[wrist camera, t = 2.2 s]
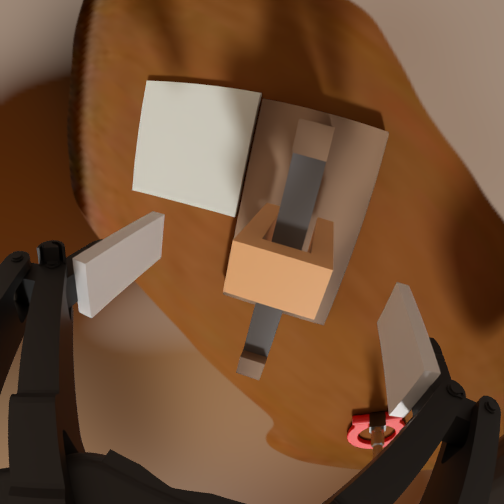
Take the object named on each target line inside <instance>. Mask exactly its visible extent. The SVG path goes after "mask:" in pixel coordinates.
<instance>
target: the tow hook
mask: <svg viewBox="0 0 504 504" xmlns="http://www.w3.org/2000/svg"><path fill="white" fill-rule="evenodd" d="M386 426H390V427H392V428H394V429H395V432H394V433H393V434H392V435H391V436H389V437H387V438H385V439H384V431H386ZM404 426H405V423H404V421H402V417H396V416H389V412H385V411H384V412H376V413H370V414H364V415H354V416H353V417H352V426H351V427H350V429H349V430H348V433H347V439H348V441H349V442H350V444H352V445H354V446H356V447H359V448H366V449H373V459H374V458H375V457H376V456H377V455H378V454H379V453H380V452H381V451H382V447H385V446H387V445H388V444H389V442H390V441H391V440H392V439H393V438H394V437H395V436H396V435H397V434H398V433H399V432H400V430H401V429H402V428H403V427H404ZM368 427H369V433H371V441H369V440H364V439H361V438H360V437H359V436H358V434H359V433H360V432H361V431H363V430H364V429H367V428H368Z"/></svg>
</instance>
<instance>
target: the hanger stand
mask: <svg viewBox="0 0 504 504" xmlns="http://www.w3.org/2000/svg"><path fill="white" fill-rule="evenodd" d="M388 135H389V132H387V131H384V130H381V129H378V128H375V127H372V126H369V125H366V124H363V123H360V122H356V121H353V120H350V119H346V118H343V117H340V116H336V115H332V114H329V113H325V112H321V111H317V110H314V109H309V108H305V107H301V106H297V105H292V104H288V103H283V102H279V101H274V100H269V99H263V100H262V104H261V109H260V113H259V118H258V123H257V127H256V132H255V137H254V141H253V146H252V151H251V156H250V160H249V165H248V170H247V175H246V180H245V185H244V190H243V194H242V199H241V204H240V209H239V214H238V219H237V225H236V230H235V235H234V238H235V237H236V236H237V235H238V234H239V233H240V232H241V231H242V230H243V228H244V227H245V226H246V225H247V224H248V223H249V222H250V221H251V220H252V218H253V217H254V216H255V215H256V214H257V213H258V212H259V211H260V210H261V209H262V207H263V206H264V205H265V204H266V203H270V204H274V205H277V206H280V209H279V213H278V217H277V221H276V225H275V229H274V233H273V237H272V241H271V242H274V243H278V244H281V245H285V246H288V247H291V248H295V249H298V250H301V251H305V252H307V251H308V248H309V245H310V241H311V238H312V235H313V231H314V228H315V224H316V221H317V218H318V217H319V218H322V219H326V220H329V221H332V222H334V245H333V272H332V274H331V277H330V280H329V283H328V285H327V288H326V291H325V293H324V296H323V299H322V301H321V304H320V306H319V309H318V311H317V314H316V316H315V319H314V320H313V319H310V318H306V317H303V316H300V315H296V314H293V313H290V312H286V311H283V310H280V309H277V308H273V307H270V306H267V305H264V304H261V303H257V302H254V301H251V300H248V299H245V298H242V297H239V296H236V295H233V294H230V293H226V292H224V293H223V294H224V295H227V296H230V297H233V298H236V299H239V300H242V301H245V302H249V303H252V304H255V308H254V312H253V315H252V319H251V323H250V327H249V331H248V334H247V338H246V342H245V346H244V349H243V352H242V354H241V356H240V360H239V364H238V368H237V371H236V373H239V374H242V375H245V376H248V377H251V378H254V379H257V380H259V379H260V377H261V374H262V371H263V368H264V365H265V362H266V359H267V356H268V353H269V351H270V348H271V345H272V342H273V339H274V336H275V333H276V330H277V327H278V324H279V321H280V318H281V315H282V313H284V314H287V315H290V316H294V317H297V318H300V319H304V320H307V321H310V322H314V323H317V324H321V325H324V323H325V321H326V318H327V316H328V314H329V311H330V309H331V306H332V304H333V301H334V299H335V297H336V294H337V291H338V289H339V286H340V284H341V281H342V279H343V276H344V273H345V271H346V268H347V266H348V263H349V260H350V257H351V255H352V252H353V249H354V246H355V243H356V241H357V238H358V235H359V232H360V229H361V226H362V223H363V220H364V217H365V214H366V211H367V208H368V205H369V202H370V198H371V195H372V192H373V189H374V185H375V182H376V179H377V175H378V172H379V168H380V165H381V161H382V158H383V154H384V150H385V147H386V143H387V139H388Z"/></svg>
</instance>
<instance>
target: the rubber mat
mask: <svg viewBox="0 0 504 504" xmlns="http://www.w3.org/2000/svg"><path fill="white" fill-rule="evenodd" d="M261 97H262V93H259V92H253V91H247V90H241V89H234V88H227V87H220V86H212V85H203V84H192V83H181V82H166V81H147V83H146V88H145V94H144V100H143V106H142V112H141V118H140V125H139V132H138V140H137V148H136V157H135V166H134V177H133V189H132V190H135V191H139V192H142V193H146V194H150V195H154V196H158V197H162V198H166V199H170V200H173V201H177V202H181V203H185V204H189V205H192V206H196V207H200V208H203V209H207V210H211V211H214V212H218V213H222V214H225V215H229V216H233V217H235V216H237V212H238V207H239V202H240V197H241V192H242V187H243V182H244V177H245V172H246V167H247V162H248V157H249V153H250V148H251V143H252V138H253V134H254V129H255V124H256V120H257V115H258V110H259V106H260V101H261Z"/></svg>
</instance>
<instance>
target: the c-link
mask: <svg viewBox="0 0 504 504" xmlns="http://www.w3.org/2000/svg"><path fill="white" fill-rule="evenodd" d="M279 209H280V206H277V205H274V204H270V203H266V204H265V205H264V206H263V207H262V209H261V210H260V211H259V212H258V213H257V214H256V215H255V216H254V217H253V218H252V220H251V221H250V222H249V223H248V224H247V225H246V226H245V227H244V228H243V230H242V231H241V232H240V233H239V234H238V235H237V236H236V237H235V238H234V240H233V242H232V247H231V252H230V258H229V263H228V268H227V274H226V279H225V284H224V290H223V292H226V293H230V294H233V295H236V296H239V297H242V298H245V299H248V300H251V301H254V302H257V303H261V304H264V305H267V306H270V307H273V308H277V309H280V310H283V311H286V312H290V313H293V314H296V315H300V316H303V317H306V318H310V319H313V320H314V319H315V316H316V314H317V311H318V309H319V306H320V304H321V301H322V299H323V296H324V293H325V291H326V288H327V285H328V283H329V280H330V277H331V274H332V272H333V245H334V222H332V221H329V220H326V219H322V218H319V217H318V218H317V221H316V224H315V228H314V231H313V235H312V238H311V241H310V245H309V248H308V251H307V252H305V251H301V250H298V249H295V248H291V247H288V246H285V245H281V244H278V243H274V242H271V241H272V237H273V233H274V229H275V225H276V221H277V217H278V213H279Z"/></svg>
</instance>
